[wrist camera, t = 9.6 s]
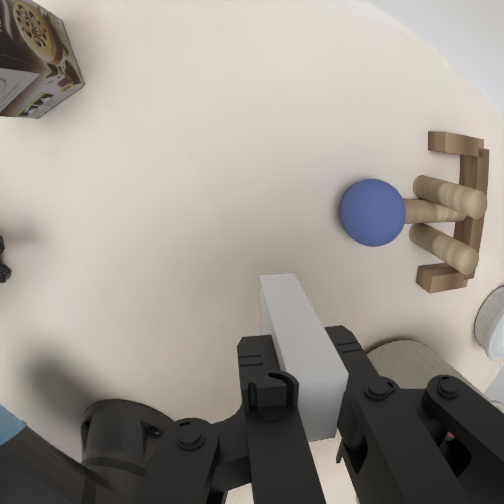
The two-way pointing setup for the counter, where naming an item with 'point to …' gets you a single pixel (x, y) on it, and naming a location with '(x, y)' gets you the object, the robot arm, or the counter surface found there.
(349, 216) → the ball
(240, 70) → the counter surface
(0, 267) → the coffee press
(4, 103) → the coffee box
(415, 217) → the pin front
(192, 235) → the counter surface
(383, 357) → the canister
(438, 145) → the rail
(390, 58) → the counter surface
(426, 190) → the pin
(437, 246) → the pin
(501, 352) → the ramekin
